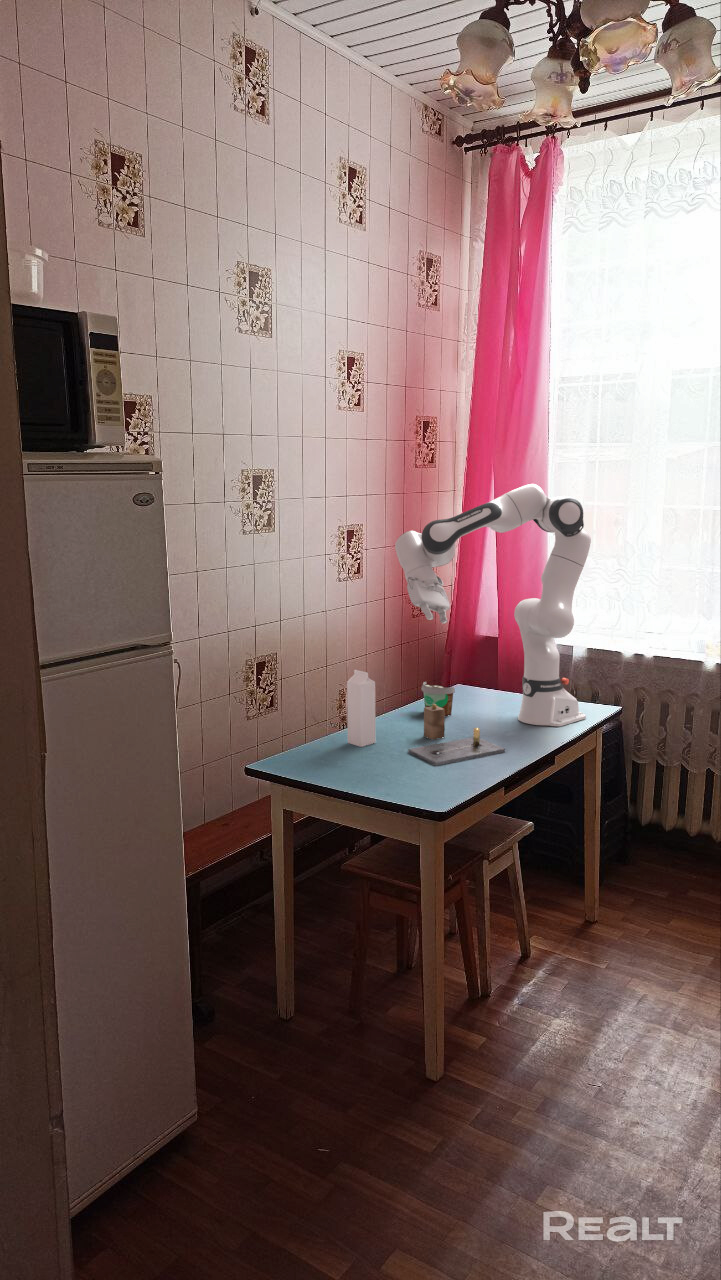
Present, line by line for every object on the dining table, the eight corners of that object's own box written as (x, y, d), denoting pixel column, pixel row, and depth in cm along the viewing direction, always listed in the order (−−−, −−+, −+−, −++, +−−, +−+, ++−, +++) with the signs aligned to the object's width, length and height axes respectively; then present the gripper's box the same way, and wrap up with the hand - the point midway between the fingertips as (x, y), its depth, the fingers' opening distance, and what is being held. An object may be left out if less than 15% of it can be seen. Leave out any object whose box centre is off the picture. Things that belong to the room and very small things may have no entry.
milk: (362, 739, 272) (361, 667, 268) (375, 743, 267) (375, 671, 263) (347, 743, 268) (346, 670, 264) (360, 747, 263) (360, 674, 259)
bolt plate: (475, 739, 269) (476, 720, 268) (505, 752, 257) (505, 732, 256) (408, 752, 258) (408, 732, 257) (435, 766, 246) (435, 745, 245)
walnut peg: (436, 734, 276) (436, 702, 274) (444, 737, 272) (444, 705, 270) (423, 736, 274) (424, 703, 272) (432, 740, 270) (432, 707, 268)
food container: (413, 713, 299) (413, 684, 297) (424, 709, 304) (424, 681, 302) (444, 720, 291) (444, 690, 290) (454, 716, 296) (455, 686, 294)
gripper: (414, 570, 266) (430, 612, 262) (444, 581, 283) (460, 620, 279) (397, 580, 268) (413, 621, 264) (428, 590, 286) (443, 628, 282)
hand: (437, 620), depth 272 cm, fingers open, 8 cm apart
